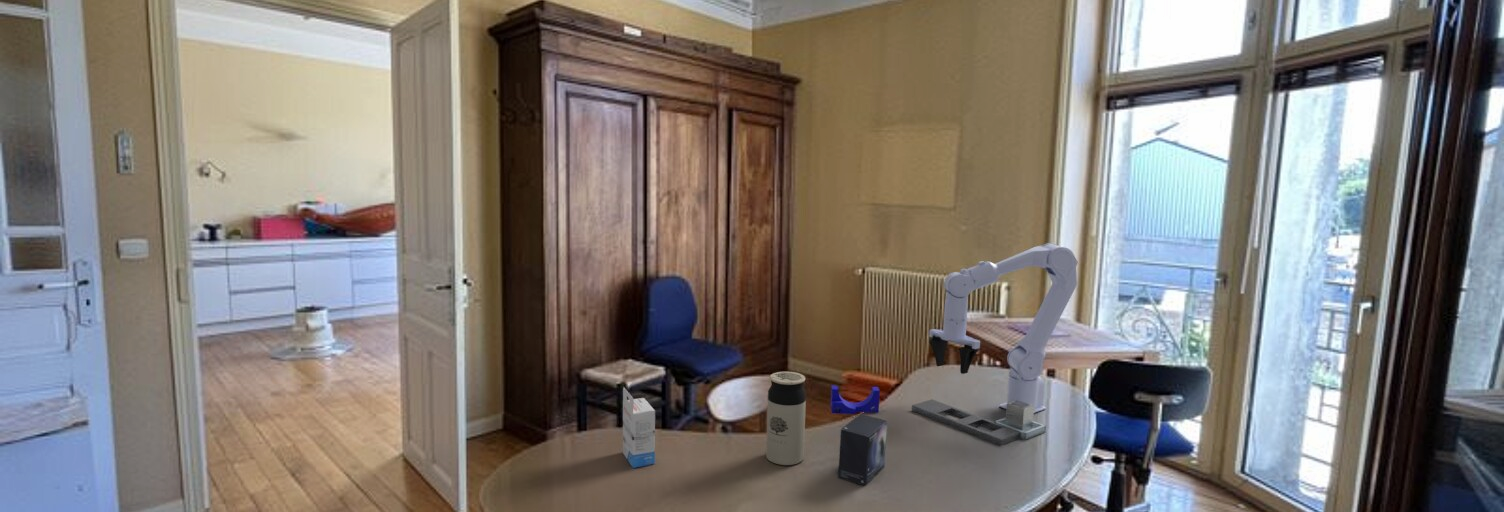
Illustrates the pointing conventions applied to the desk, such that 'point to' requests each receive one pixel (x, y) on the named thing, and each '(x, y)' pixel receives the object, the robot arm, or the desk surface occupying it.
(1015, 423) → the grey rectangular block
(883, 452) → the small box
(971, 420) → the rail
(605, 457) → the desk surface
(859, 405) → the blue cradle stand
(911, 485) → the desk surface
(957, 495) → the desk surface
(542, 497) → the desk surface
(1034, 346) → the robot arm
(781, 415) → the travel mug
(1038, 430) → the parts tray
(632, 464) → the ink box
